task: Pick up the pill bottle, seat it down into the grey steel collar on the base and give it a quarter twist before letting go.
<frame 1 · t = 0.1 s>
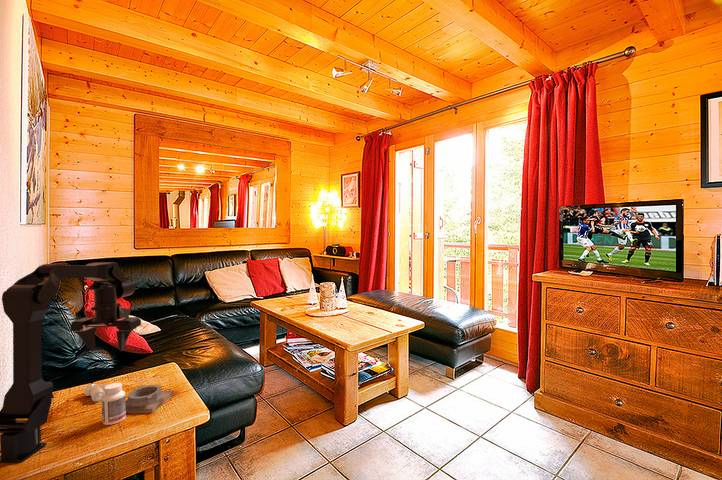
hand: (107, 350, 109), 15 cm above the table, fingers open, 9 cm apart
pill bottle: (114, 420, 95), on the table
pipe fitting: (97, 399, 109), on the table
collar base: (145, 403, 104), on the table
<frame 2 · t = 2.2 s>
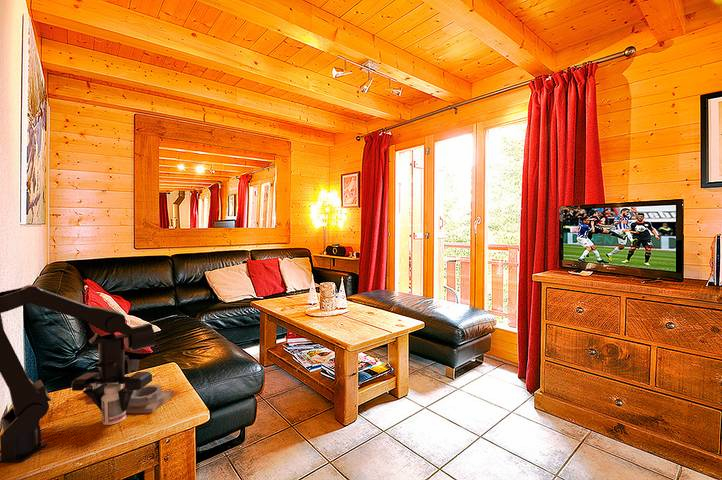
hand: (114, 411, 95), 3 cm above the table, fingers closed on pill bottle, 5 cm apart
pill bottle: (114, 420, 95), on the table, touching gripper
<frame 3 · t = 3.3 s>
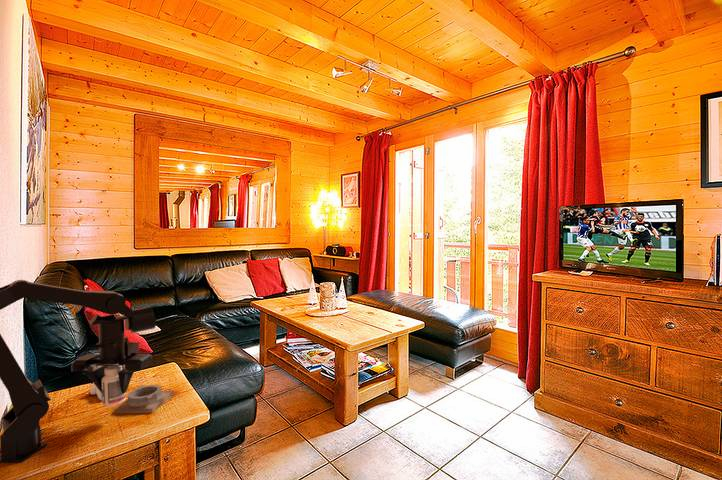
hand: (114, 392, 95), 8 cm above the table, fingers closed on pill bottle, 5 cm apart
pill bottle: (114, 402, 95), point 5 cm above the table, touching gripper
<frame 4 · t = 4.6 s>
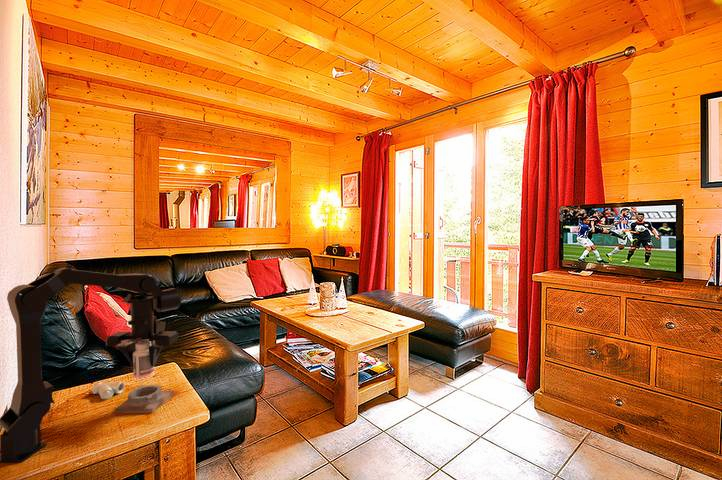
hand: (143, 366, 104), 11 cm above the table, fingers closed on pill bottle, 5 cm apart
pill bottle: (144, 375, 104), point 9 cm above the table, touching gripper
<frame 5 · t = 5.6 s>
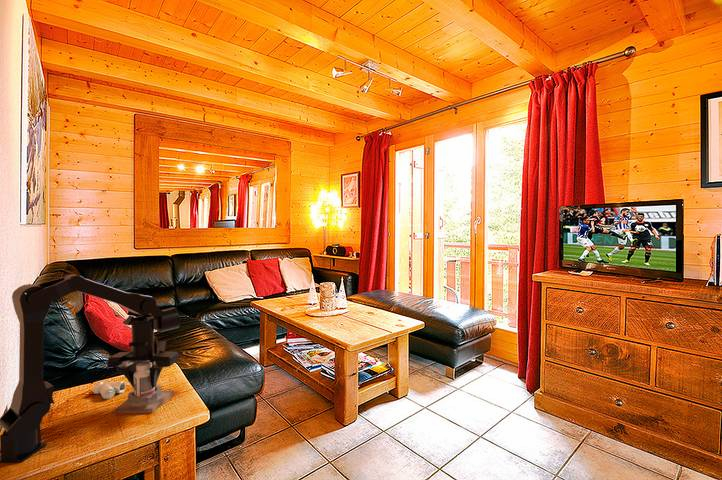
hand: (144, 387, 104), 5 cm above the table, fingers closed on pill bottle, 5 cm apart
pill bottle: (144, 396, 104), point 2 cm above the table, touching gripper
when the fingers open (5 cm above the table, at t = 6.5 s): pill bottle stays where it is, resting on collar base.
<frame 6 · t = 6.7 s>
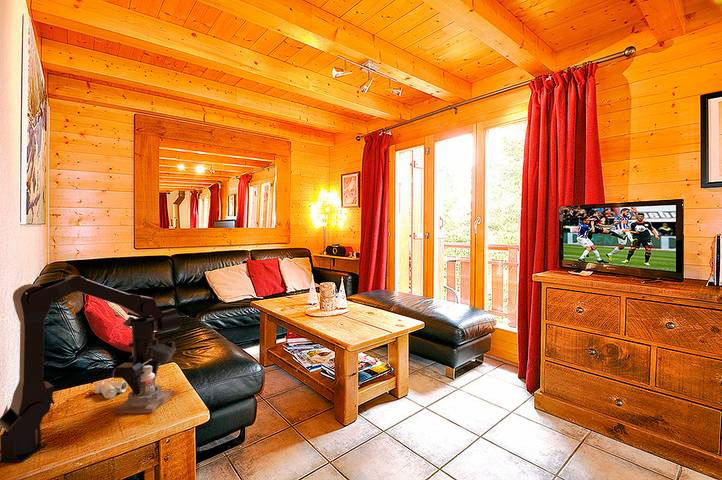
hand: (144, 388, 104), 5 cm above the table, fingers open, 7 cm apart
pill bottle: (145, 400, 104), point 1 cm above the table, touching collar base
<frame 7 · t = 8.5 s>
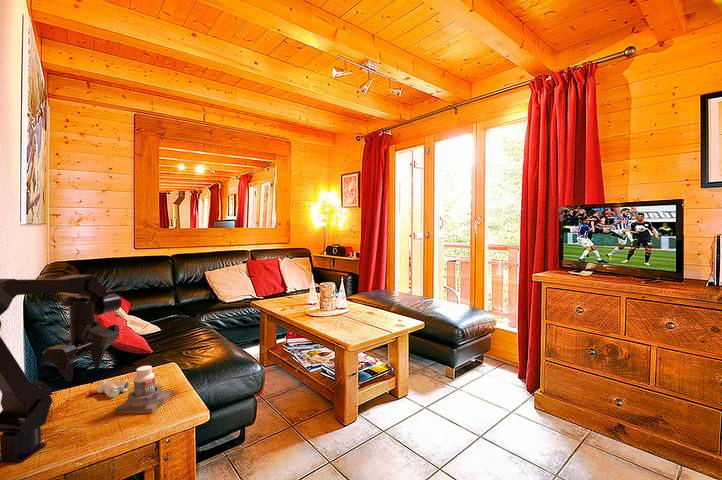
hand: (83, 374, 97), 12 cm above the table, fingers open, 9 cm apart
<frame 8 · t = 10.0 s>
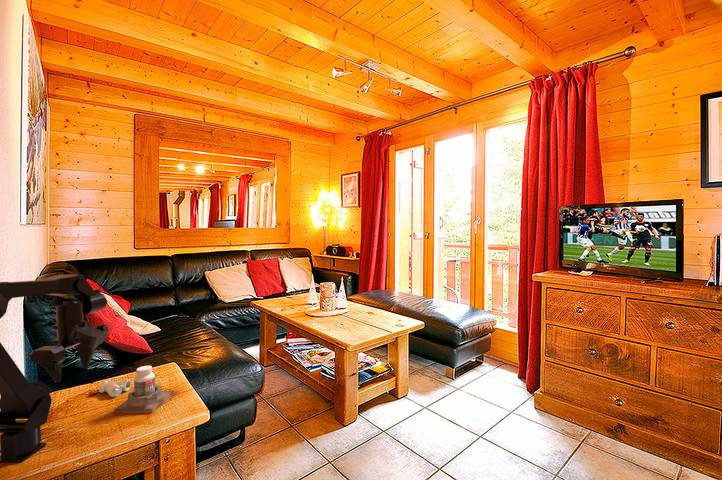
hand: (72, 374, 96), 13 cm above the table, fingers open, 9 cm apart
at the end: pill bottle 0.0 cm off-centre on the collar base, point 1.0 cm above the collar base's base; pill bottle tilted 0°; the gripper is holding nothing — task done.
